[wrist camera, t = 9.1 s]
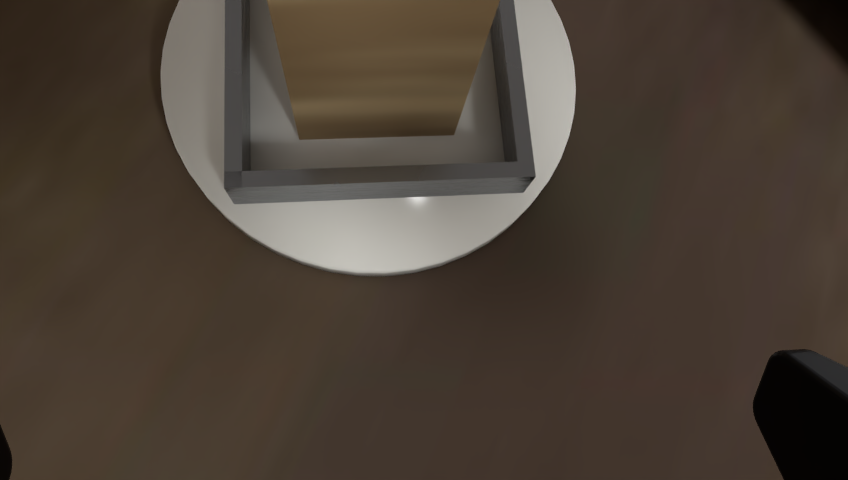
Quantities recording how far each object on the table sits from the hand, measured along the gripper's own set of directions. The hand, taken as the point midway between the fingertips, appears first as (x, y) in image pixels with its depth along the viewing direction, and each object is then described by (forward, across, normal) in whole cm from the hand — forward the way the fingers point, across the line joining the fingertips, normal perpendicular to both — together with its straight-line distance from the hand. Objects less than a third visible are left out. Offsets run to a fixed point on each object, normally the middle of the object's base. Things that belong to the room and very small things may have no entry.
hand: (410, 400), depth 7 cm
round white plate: (+12, 0, 0) cm, 12 cm away
